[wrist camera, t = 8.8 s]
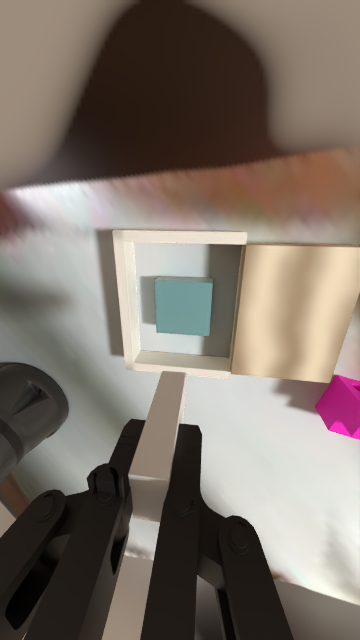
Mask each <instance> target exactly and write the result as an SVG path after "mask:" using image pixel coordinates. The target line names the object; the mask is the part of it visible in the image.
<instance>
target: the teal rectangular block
mask: <svg viewBox="0 0 360 640" xmlns="http://www.w3.org/2000/svg"><path fill="white" fill-rule="evenodd" d="M212 287H213V278H192V277H166V276H159V277H158V278H157V279H156V280H155V301H156V331H157V333H171V334H185V335H199V336H209V333H210V318H211V302H212Z"/></svg>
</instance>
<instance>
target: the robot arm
mask: <svg viewBox="0 0 360 640" xmlns="http://www.w3.org/2000/svg"><path fill="white" fill-rule="evenodd" d="M185 387H186V373H185V372H173V371H162V374H161V377H160V380H159V383H158V386H157V389H156V392H155V395H154V398H153V401H152V404H151V407H150V410H149V413H148V416H147V419H146V420H138V419H131V420H130V421H129V422H128V423H127V424H126V425H125V426H124V428H123V430H122V433H121V435H120V437H119V440H118V442H117V445H116V447H115V449H114V451H113V454H112V456H111V458H110V461H109V463H106V464H102V465H100V466H97V467H96V468H95V469H94V470H93V471H91V473H90V474H89V476H88V477H87V482H88V487H89V490H87V491H84V492H81V493H77V494H72V495H68V496H65V495H64V494H63V493H62V492H61V491H60V490H55V489H53V490H49V491H46V492H44V493H42V494H40V495H39V496H38V497H37V498H36V499H34V500H33V501H32V502H31V504H30V505H29V506H28V507H27V508H26V509H25V510H24V512H23V513H22V514H21V515H20V516H19V517H18V518H17V520H16V521H15V522H14V523H13V524H12V525H11V526H10V528H9V529H8V530H7V531H6V532H5V533H4V534H3V535H2V537H1V538H0V640H22V638H23V637H24V635H25V634H26V635H25V637H24V640H101V639H102V636H103V632H104V628H105V624H106V621H107V617H108V612H109V609H110V605H111V602H112V597H113V594H114V590H115V586H116V582H117V578H118V574H119V571H120V567H121V563H122V559H123V556H124V552H125V548H126V544H127V540H128V536H129V522H130V518H131V515H132V512H133V518H138V519H144V520H150V521H157V522H160V527H159V533H158V538H157V544H156V550H155V556H154V562H153V568H152V574H151V579H150V585H149V591H148V598H147V603H146V609H145V615H144V621H143V627H142V633H141V639H140V640H194V635H195V610H196V585H197V584H196V583H197V575H199V576H200V577H201V578H203V579H204V580H206V581H207V582H208V583H210V584H211V585H213V586H214V587H215V593H216V599H217V604H218V610H219V616H220V622H221V628H222V633H223V639H224V640H294V639H293V636H292V633H291V630H290V627H289V625H288V622H287V619H286V616H285V613H284V610H283V607H282V604H281V601H280V598H279V595H278V592H277V590H276V587H275V584H274V581H273V578H272V575H271V572H270V569H269V566H268V563H267V560H266V558H265V555H264V552H263V549H262V546H261V543H260V540H259V537H258V535H257V533H256V531H255V529H254V527H253V526H252V525H251V524H250V523H249V522H248V521H247V520H246V519H244V518H242V517H240V516H233V515H232V516H230V517H227V518H225V517H223V516H221V515H220V514H218V513H216V512H214V511H213V510H212V509H210V508H209V507H208V506H207V505H206V503H205V502H204V500H203V498H202V495H201V492H200V474H201V447H202V433H201V431H200V428H199V426H198V425H189V424H183V417H184V410H185ZM68 412H69V407H68V402H67V399H66V396H65V394H64V393H63V391H62V389H61V388H60V387H59V386H58V384H57V383H56V382H55V381H54V380H53V379H51V378H50V377H49V376H48V375H46V374H45V373H43V372H41V371H40V370H38V369H35V368H33V367H30V366H27V365H22V364H8V365H5V366H2V367H0V484H1V483H2V482H3V481H4V480H5V478H6V477H7V476H8V475H9V473H10V472H11V471H12V470H13V468H14V467H15V466H16V465H17V464H18V462H19V461H20V460H21V459H22V458H23V456H24V455H25V454H27V453H28V452H29V451H31V450H32V449H33V448H35V447H36V446H37V445H38V444H40V443H41V442H42V441H43V440H44V439H45V438H48V437H50V436H51V435H53V434H54V433H55V432H56V431H57V430H58V429H59V428H60V427H61V425H62V424H63V423H64V422H65V420H66V419H67V416H68ZM27 630H28V631H27ZM26 632H27V633H26Z"/></svg>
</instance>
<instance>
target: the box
mask: <svg viewBox="0 0 360 640" xmlns="http://www.w3.org/2000/svg"><path fill="white" fill-rule="evenodd" d="M112 233H113V243H114V254H115V264H116V275H117V285H118V296H119V306H120V316H121V327H122V337H123V348H124V358H125V369H127V370H137V371H148V372H159V373H162V371H173V372H185V373H186V375H190V376H201V377H212V378H222V379H230V375H231V368H230V360H229V358H227V357H215V356H203V355H191V354H179V353H167V352H155V351H142V350H141V349H140V333H139V317H138V301H137V285H136V269H135V253H134V242H154V243H198V244H242V245H246V241H247V232H235V231H172V230H112Z"/></svg>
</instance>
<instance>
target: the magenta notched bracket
mask: <svg viewBox="0 0 360 640" xmlns="http://www.w3.org/2000/svg"><path fill="white" fill-rule="evenodd" d="M316 409H317V411H318V413H319V414H320V416H321V418H322V420H323V421H324V423H325V425H326V427H327V429H328V430H329V431H332V432H336V433H339V434H342V435H346V436H349V437H352V438H356V439H360V381H357V380H353V379H350V378H347V377H343V376H340V375H336V377H335V378H334V380H333V381H332V383H331V384H330V386H329V387H328V389H327V390H326V392H325V393H324V395H323V396H322V398H321V399H320V401H319V402H318V404H317V405H316Z"/></svg>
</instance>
